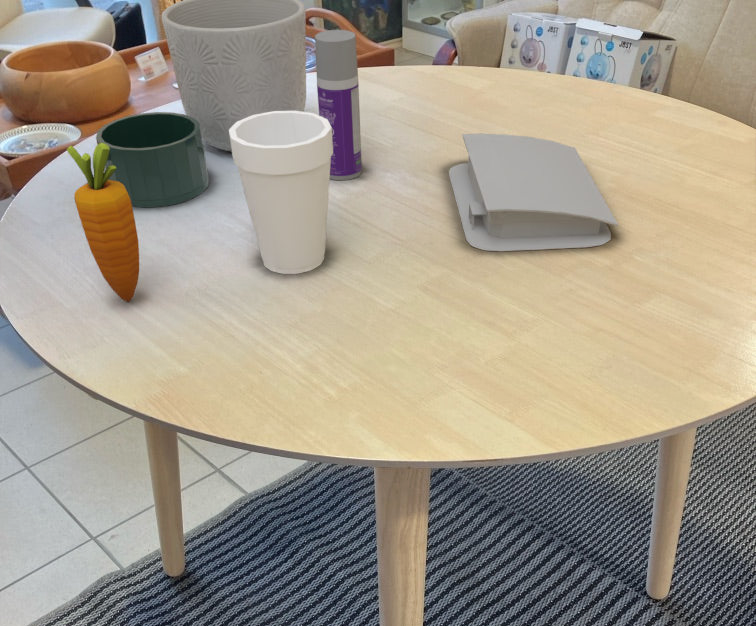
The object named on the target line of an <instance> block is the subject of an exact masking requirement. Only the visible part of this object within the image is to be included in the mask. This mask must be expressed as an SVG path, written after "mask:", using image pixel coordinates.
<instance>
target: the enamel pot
mask: <svg viewBox="0 0 756 626" xmlns="http://www.w3.org/2000/svg"><path fill="white" fill-rule="evenodd" d="M95 140H96V144H97V145H98V144H100V143H104V144H106V145H108V146H109V149H110V151H109V155H108V159H107V162H106V165H105V169H104V172H105V170H106V169H107V167H108V166H111V165H114V166H116V168H117V169H116V170H115V171H114V173H113V174H112V175H111V177H110V178H109V179H108V180H113V181H118V182H120V183H122V184H123V185H124V186H125V188H126V190H127V192H128V195H129V197H130V200H131V204H132V207H134V208H135V207H136V208H159V207H160V208H162V207H167V206H168V207H169V206H172V205H177V204H181V203H184V202H187V201H189V200H192V199H194V198H196V197H198V196H200V195H201V194H203V193H204V192H205V191H206V189H207V188H208V186H209V183H210V179H209V172H208V166H207V159H206V154H205V147H204V140H203V139H202V134H201V128H200V123H199V122H198V121H197V120H196V119H194V118H192V117H190V116H187V115H186V114H185V113H179V112H178V113H177V112H165V111H154V112H143V113H137V114H132V115H127V116H123V117H121V118H117V119H114V120H112V121H110V122H108V123H106V124H105V125H103V126H101V127H100V128H99V129H98V130H97V132H96V136H95Z"/></svg>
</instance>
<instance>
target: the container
mask: <svg viewBox="0 0 756 626" xmlns="http://www.w3.org/2000/svg"><path fill="white" fill-rule="evenodd" d="M356 37H357V36H356V33H355V32H354V31H350V30H347V29H346V30H345V29H330V30H329V29H328V30H324V31H320V32H318V33H316V34H315V35H314V49H315V69H316V70H315V71H316V90H317V101H318V103H317V104H318V115H319V116H321V117H323V118H326V119H328V121H329V123H330V125H331V127H332V142H333V154H332V155H331V162H330V178H329V180H334V181H349V180H353V179H356V178H358V177H360V176H361V175H362V174H363V168H362V167H363V166H362V165H363V164H362V163H363V162H362V137H361V135H362V134H361V112H360V111H361V110H360V87H359V86H360V85H359V68H358V53H357V38H356Z"/></svg>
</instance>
